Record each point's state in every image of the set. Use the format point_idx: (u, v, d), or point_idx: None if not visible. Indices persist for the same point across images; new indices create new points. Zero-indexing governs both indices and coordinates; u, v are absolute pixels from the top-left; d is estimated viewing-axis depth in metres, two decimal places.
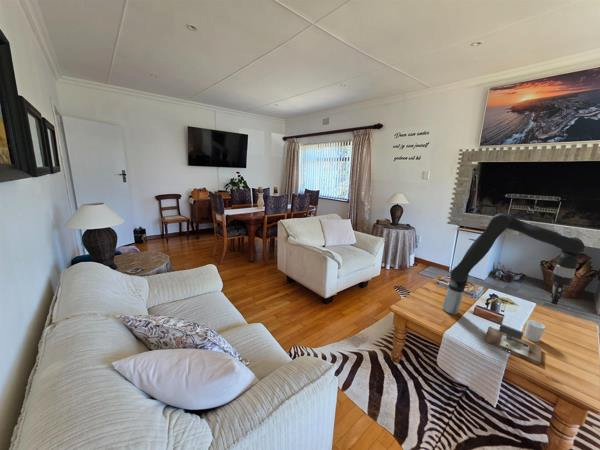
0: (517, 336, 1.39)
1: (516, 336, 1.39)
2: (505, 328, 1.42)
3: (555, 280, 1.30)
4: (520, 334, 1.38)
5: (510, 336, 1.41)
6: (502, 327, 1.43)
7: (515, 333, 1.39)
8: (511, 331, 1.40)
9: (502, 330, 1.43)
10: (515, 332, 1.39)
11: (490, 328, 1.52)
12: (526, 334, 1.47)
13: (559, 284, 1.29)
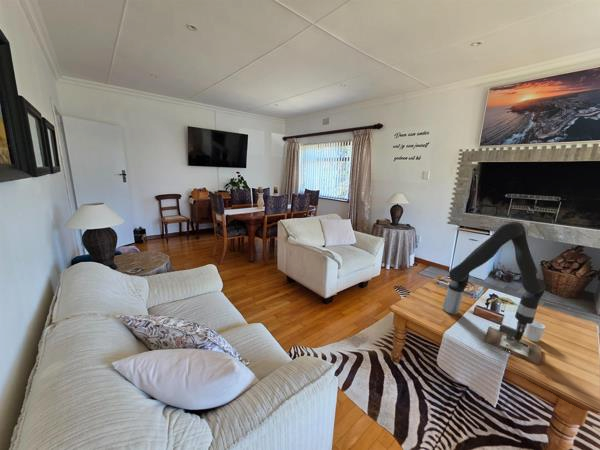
0: None
1: None
2: (505, 328, 1.42)
3: (518, 318, 1.36)
4: None
5: (510, 336, 1.41)
6: (502, 327, 1.43)
7: (515, 333, 1.39)
8: (511, 331, 1.40)
9: (502, 330, 1.43)
10: (515, 332, 1.39)
11: (490, 328, 1.52)
12: (526, 334, 1.47)
13: (521, 322, 1.34)
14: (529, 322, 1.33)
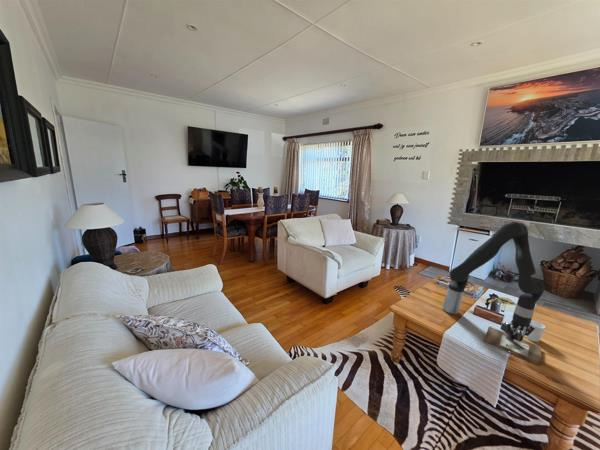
0: None
1: None
2: (505, 327, 1.43)
3: None
4: (516, 335, 1.37)
5: (508, 335, 1.41)
6: (503, 325, 1.45)
7: None
8: None
9: (503, 328, 1.45)
10: None
11: (490, 328, 1.52)
12: None
13: None
14: (518, 321, 1.34)
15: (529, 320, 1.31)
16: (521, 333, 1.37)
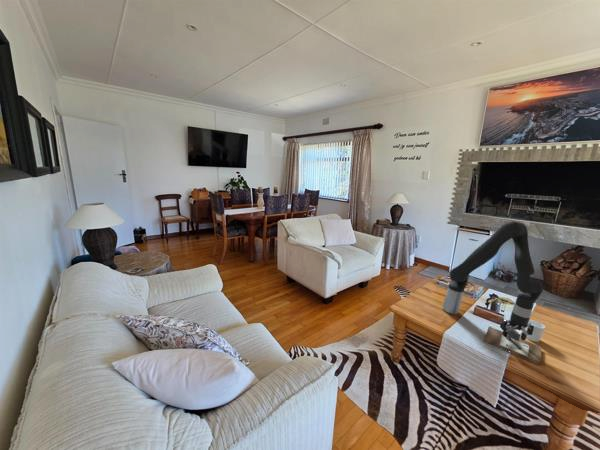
0: (513, 336, 1.39)
1: (512, 336, 1.39)
2: None
3: None
4: (515, 334, 1.37)
5: (508, 335, 1.42)
6: None
7: (512, 333, 1.39)
8: None
9: None
10: (512, 332, 1.39)
11: (490, 328, 1.52)
12: None
13: (510, 319, 1.37)
14: (515, 320, 1.34)
15: (527, 320, 1.31)
16: None
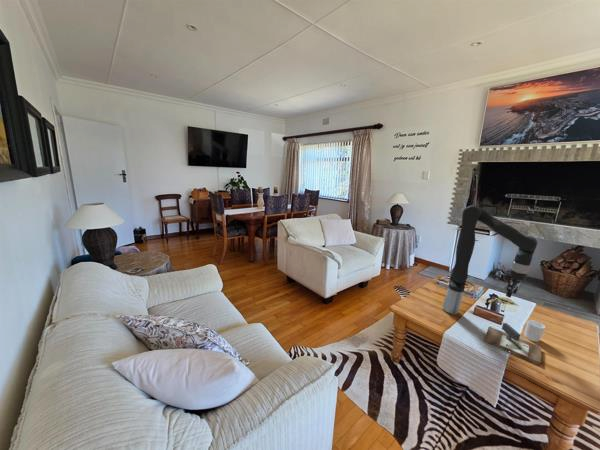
0: (513, 336, 1.39)
1: (512, 336, 1.39)
2: (506, 326, 1.44)
3: (510, 275, 1.42)
4: (515, 334, 1.37)
5: (508, 335, 1.42)
6: (504, 325, 1.45)
7: (512, 333, 1.39)
8: (509, 330, 1.41)
9: (504, 328, 1.45)
10: (512, 332, 1.39)
11: (490, 328, 1.52)
12: (526, 334, 1.47)
13: (513, 279, 1.41)
14: (520, 278, 1.39)
15: None
16: None
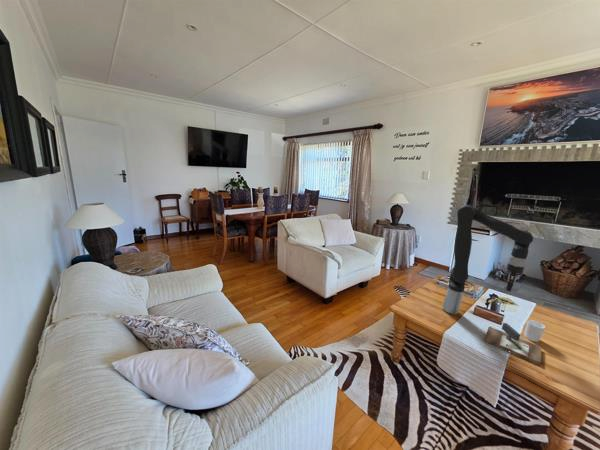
0: (513, 336, 1.39)
1: (512, 336, 1.39)
2: (506, 326, 1.44)
3: (509, 269, 1.45)
4: (515, 334, 1.37)
5: (508, 335, 1.42)
6: (504, 325, 1.45)
7: (512, 333, 1.39)
8: (509, 330, 1.41)
9: (504, 328, 1.45)
10: (512, 332, 1.39)
11: (490, 328, 1.52)
12: (526, 334, 1.47)
13: (512, 273, 1.43)
14: (519, 272, 1.42)
15: None
16: None
